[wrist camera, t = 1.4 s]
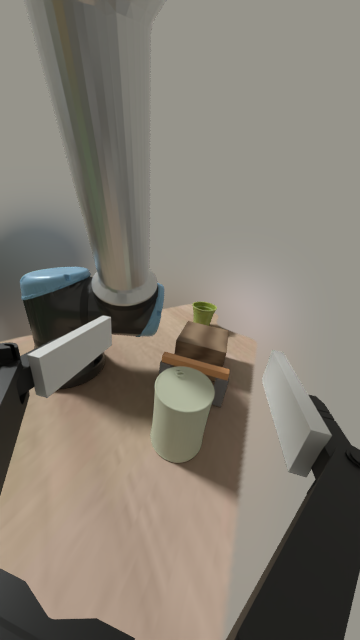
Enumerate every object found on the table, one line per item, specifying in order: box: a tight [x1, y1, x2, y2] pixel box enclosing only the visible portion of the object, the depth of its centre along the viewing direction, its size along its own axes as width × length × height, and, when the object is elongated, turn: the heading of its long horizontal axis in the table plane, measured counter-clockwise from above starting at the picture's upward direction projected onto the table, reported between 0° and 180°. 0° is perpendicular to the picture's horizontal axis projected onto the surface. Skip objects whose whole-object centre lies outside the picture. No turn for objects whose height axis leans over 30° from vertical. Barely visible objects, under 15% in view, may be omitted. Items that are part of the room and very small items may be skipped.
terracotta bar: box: [162, 352, 230, 380], centre depth 38 cm, size 14×2×2 cm, turn 74°
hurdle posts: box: [159, 361, 229, 407], centre depth 40 cm, size 14×2×7 cm, turn 74°
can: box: [150, 366, 215, 463], centre depth 30 cm, size 9×9×12 cm
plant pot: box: [192, 302, 217, 326], centre depth 72 cm, size 9×9×9 cm
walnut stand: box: [173, 321, 229, 382], centre depth 50 cm, size 12×12×9 cm
